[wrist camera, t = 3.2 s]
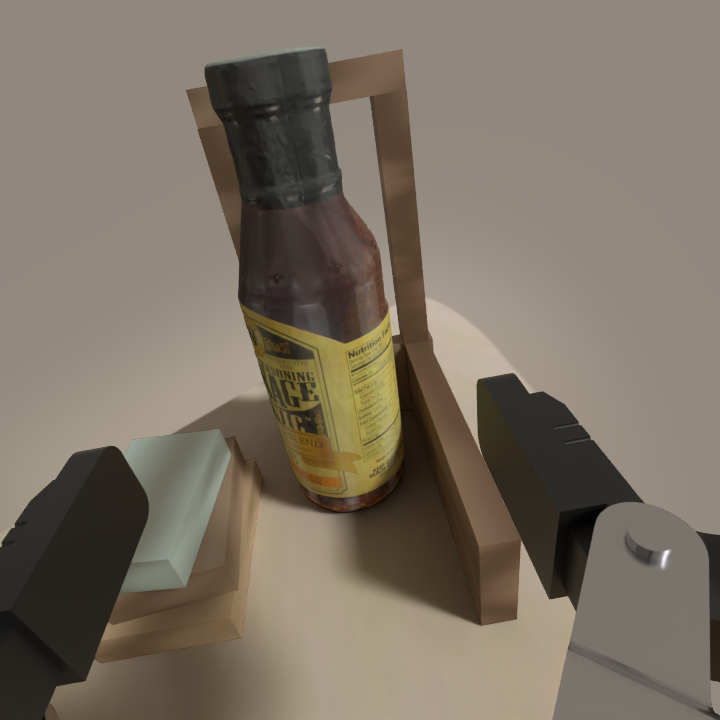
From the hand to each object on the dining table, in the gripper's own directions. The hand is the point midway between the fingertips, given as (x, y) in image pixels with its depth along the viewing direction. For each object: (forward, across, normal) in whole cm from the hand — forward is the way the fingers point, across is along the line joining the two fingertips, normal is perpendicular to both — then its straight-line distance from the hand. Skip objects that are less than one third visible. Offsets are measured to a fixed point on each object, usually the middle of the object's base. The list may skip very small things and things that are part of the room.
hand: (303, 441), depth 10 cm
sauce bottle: (+10, 0, +12) cm, 16 cm away
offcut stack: (+7, +8, +12) cm, 17 cm away
